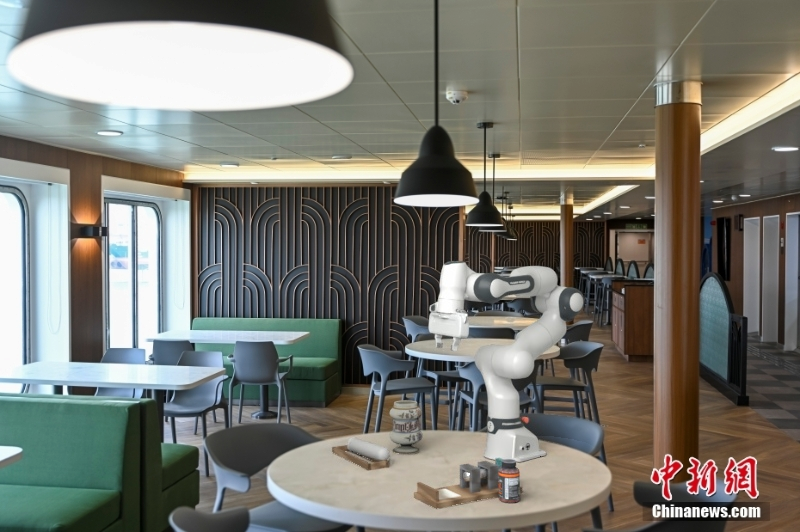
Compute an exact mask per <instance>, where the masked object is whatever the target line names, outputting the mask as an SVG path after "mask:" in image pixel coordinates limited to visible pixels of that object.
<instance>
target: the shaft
mask: <svg viewBox="0 0 800 532" xmlns="http://www.w3.org/2000/svg"><path fill="white" fill-rule="evenodd" d="M502 460H505V459H502V458H495V461H494V462H495V463H494V464H496V465H498V479H499V469H500V468H501V467H502ZM463 478H464V480H465V481H466V482H467V481H470V472H468V471H466V472H464V473H463ZM484 478H488V469H486V468H484V469H480V479H484Z"/></svg>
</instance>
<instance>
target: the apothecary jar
mask: <svg viewBox="0 0 800 532" xmlns="http://www.w3.org/2000/svg"><path fill="white" fill-rule="evenodd" d="M422 414H423V411H422V409H421V408H420V407H419V405H418V402H417V401H415V400H407V399H405V400H397V401H394V403H393V407H392V408H391V409H390V411H389V416H390V417H391V418H392V431H391V432H390V433H389V438H390V440H391V441H392V442H393V443H395V444H396V445H399V446H397V447H395V448H393V449H392V452H393V453H394V452H395V453H394V454H396V453H399V454H398V455H404V454H408V455H415V453H416V454H418V453H420V449H419V447H416V446H413V445H414V444H418V443H419V442H420V441H422V439H423V432H422V431H421V430H420V425H419V423H420V421H419V420H420V417H421V416H422Z"/></svg>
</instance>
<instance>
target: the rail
mask: <svg viewBox="0 0 800 532" xmlns="http://www.w3.org/2000/svg"><path fill="white" fill-rule="evenodd" d="M484 468H486V469H488V478H484V479H480V469H484ZM466 471H468V472H470V481H467V482H466V481H465V480H464V478H463V473H464V472H466ZM416 487H417V488H416V489H417V490H416V491H415V492H413V498H415V499H416V500H417V501H420V502H422V503H424V504H425V505H428V506H429V505H430V506H429V507H431V506H432V508H433V507H434V508H433V509H435V508H436V509H435V510H438V509H437V508H439V509H443V508H442V507H445V508H447V507H446V506H450V507H453V506H452V505H455V506H457V505H456V504H460V505H462V504H461V503H465V504H467V503H466V502H471V501H476V502H478V501H477V500H481V499H486V500H488V499H487V498H491V499H494V498H493V497H497V498H499V479H498V465H496V464H495V463H492V462H490V461H487V460H482V461H477V466H475V465H472V464H470V463H464V464H459V484H455V485H448V486H443V487H436V488H434V487H433V486H432V487H431V486H429V485H428V484H425V483H423V482H421V481H420V482H419V481H418V482H416ZM521 493H523V487H522V486H520V494H521ZM481 501H482V500H481ZM471 503H472V502H471Z"/></svg>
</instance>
